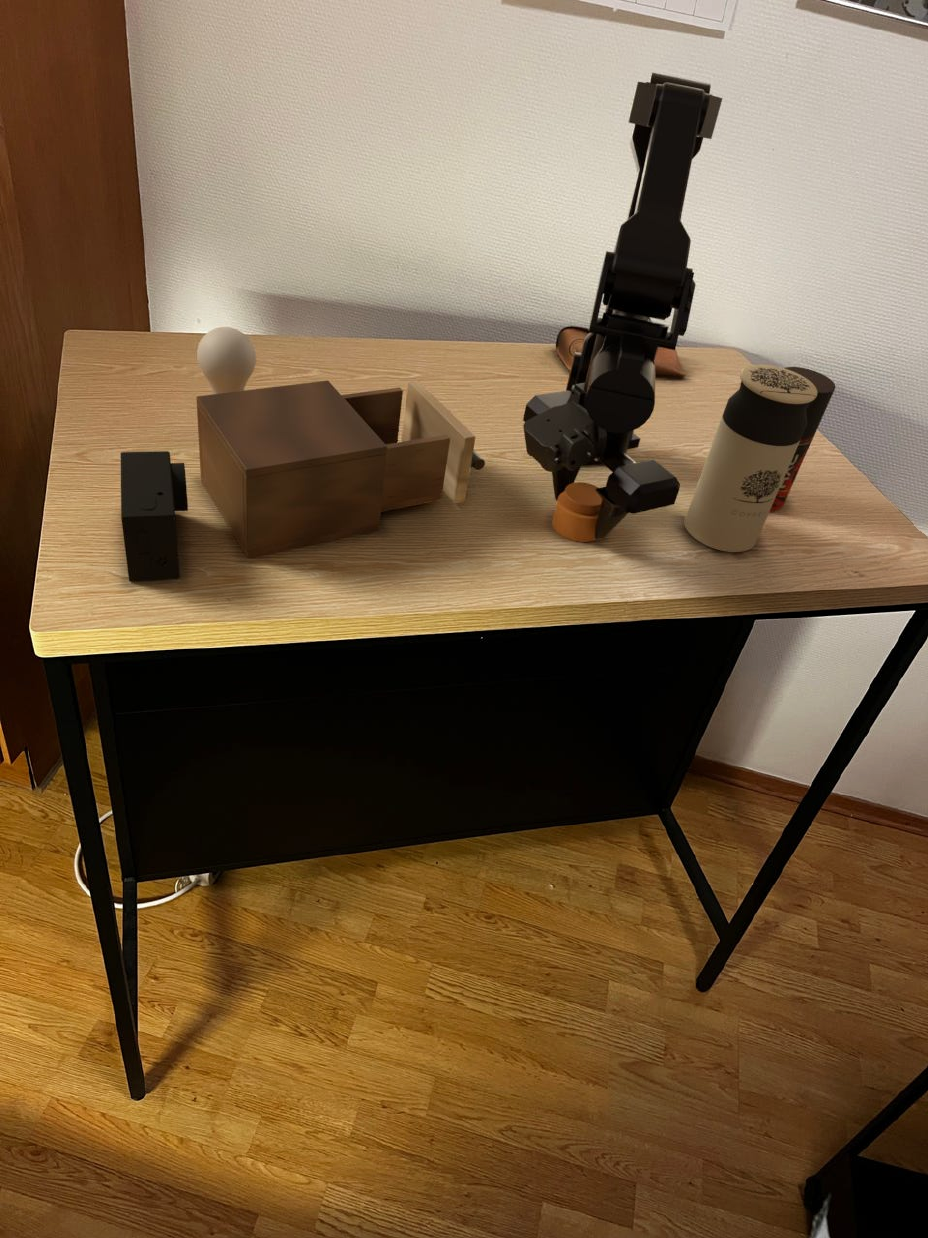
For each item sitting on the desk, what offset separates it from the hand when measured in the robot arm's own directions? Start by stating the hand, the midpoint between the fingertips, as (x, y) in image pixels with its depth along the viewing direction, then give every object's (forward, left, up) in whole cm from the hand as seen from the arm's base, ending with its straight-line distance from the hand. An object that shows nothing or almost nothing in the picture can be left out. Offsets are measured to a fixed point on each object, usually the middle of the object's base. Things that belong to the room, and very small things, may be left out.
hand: (579, 518), depth 95 cm
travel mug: (-16, +3, -1) cm, 16 cm away
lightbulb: (+33, -24, -1) cm, 41 cm away
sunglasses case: (-23, -37, -1) cm, 44 cm away
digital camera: (+42, -2, -1) cm, 42 cm away
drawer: (+17, -10, 0) cm, 19 cm away
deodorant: (-25, -3, -1) cm, 25 cm away
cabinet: (+29, -7, -1) cm, 30 cm away
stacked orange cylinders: (0, 0, -1) cm, 1 cm away
